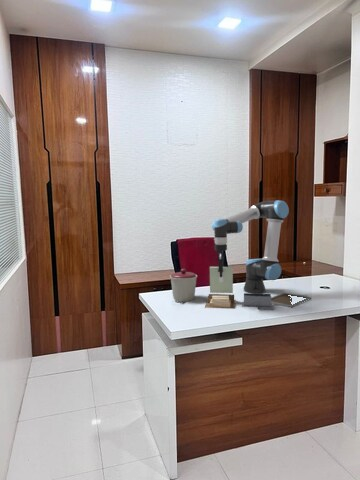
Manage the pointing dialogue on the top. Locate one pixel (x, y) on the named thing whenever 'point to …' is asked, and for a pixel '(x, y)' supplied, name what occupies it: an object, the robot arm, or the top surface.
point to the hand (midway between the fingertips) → (221, 281)
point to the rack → (231, 297)
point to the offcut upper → (220, 299)
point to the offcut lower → (220, 304)
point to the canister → (183, 285)
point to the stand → (257, 301)
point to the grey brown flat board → (286, 300)
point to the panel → (221, 286)
